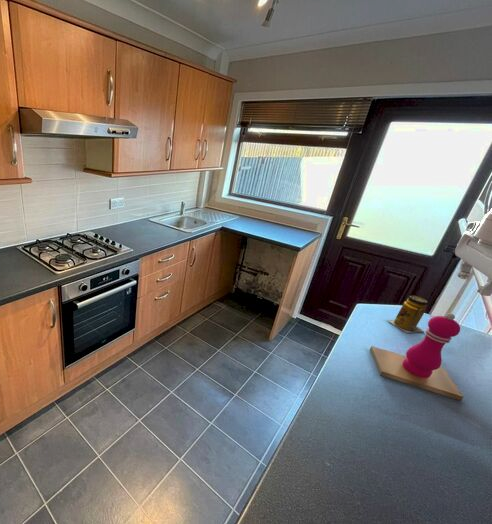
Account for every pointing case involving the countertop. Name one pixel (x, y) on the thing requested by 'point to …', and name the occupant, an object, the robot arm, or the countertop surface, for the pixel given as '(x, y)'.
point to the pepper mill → (431, 346)
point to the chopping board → (393, 368)
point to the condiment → (410, 314)
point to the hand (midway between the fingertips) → (471, 285)
